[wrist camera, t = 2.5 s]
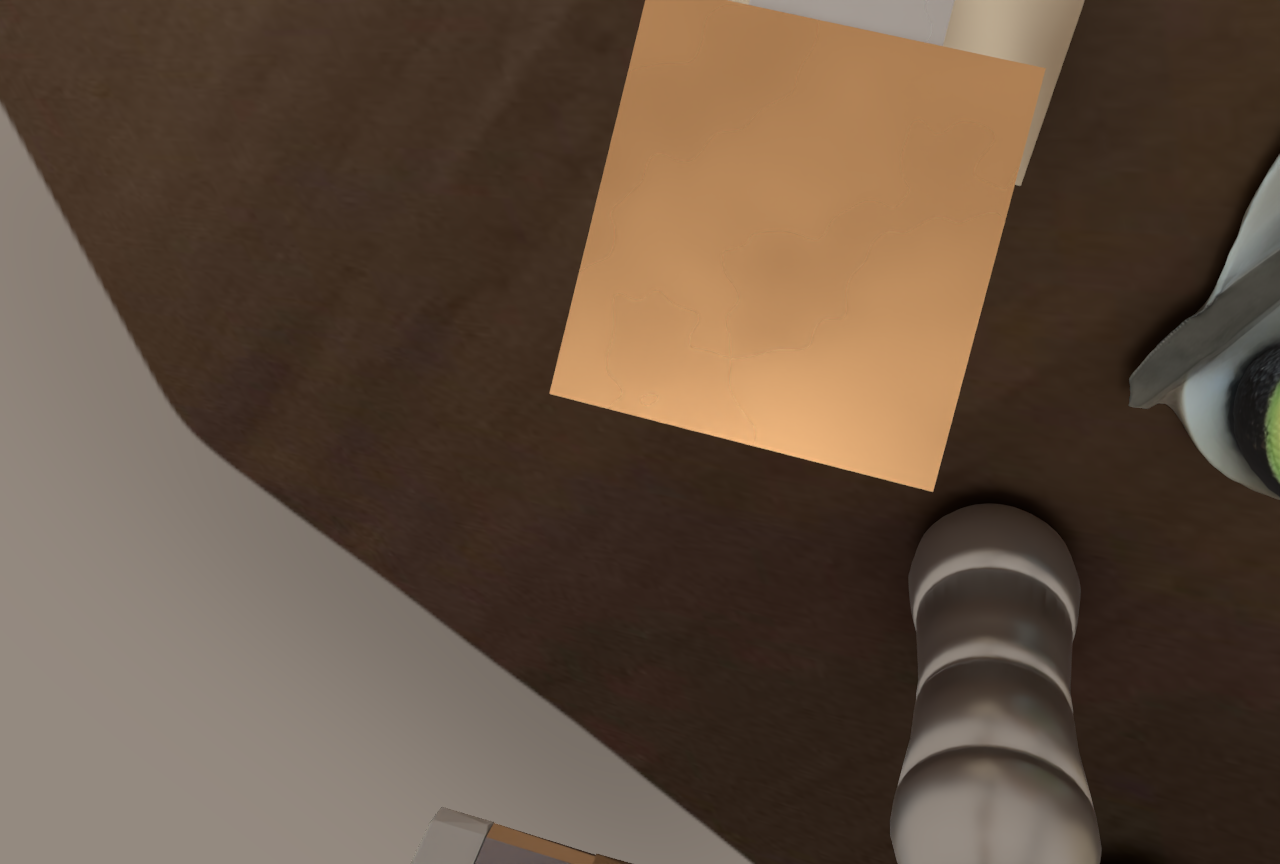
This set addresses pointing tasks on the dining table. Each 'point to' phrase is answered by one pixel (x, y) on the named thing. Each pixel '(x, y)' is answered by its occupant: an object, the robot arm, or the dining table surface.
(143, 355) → the dining table surface
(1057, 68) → the press base
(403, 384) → the dining table surface
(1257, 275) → the salad plate
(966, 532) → the plastic bottle
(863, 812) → the dining table surface
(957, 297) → the press lever
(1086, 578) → the dining table surface
